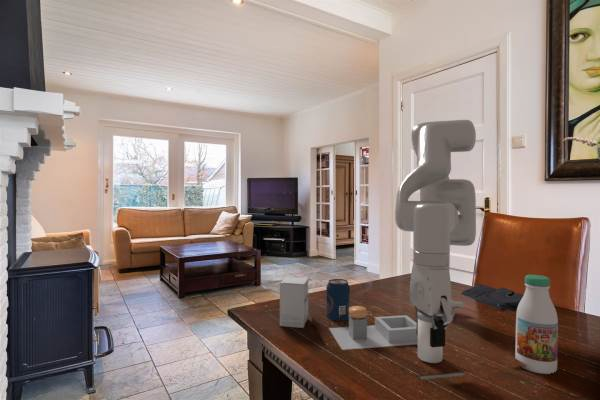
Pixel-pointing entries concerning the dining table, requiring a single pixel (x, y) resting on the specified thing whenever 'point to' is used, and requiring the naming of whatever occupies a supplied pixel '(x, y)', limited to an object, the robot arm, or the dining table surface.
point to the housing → (376, 333)
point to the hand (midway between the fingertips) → (430, 339)
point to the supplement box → (294, 302)
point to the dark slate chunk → (495, 297)
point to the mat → (441, 375)
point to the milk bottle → (537, 327)
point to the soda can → (337, 299)
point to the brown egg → (357, 312)
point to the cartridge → (427, 340)
